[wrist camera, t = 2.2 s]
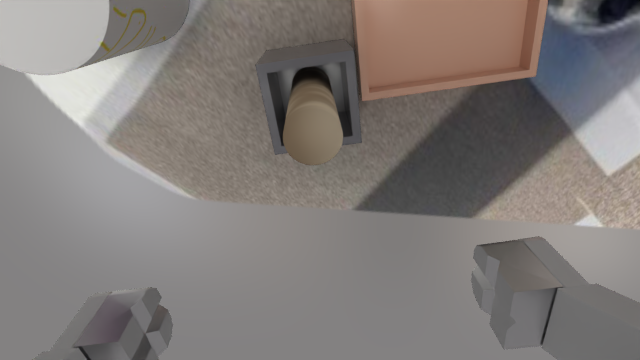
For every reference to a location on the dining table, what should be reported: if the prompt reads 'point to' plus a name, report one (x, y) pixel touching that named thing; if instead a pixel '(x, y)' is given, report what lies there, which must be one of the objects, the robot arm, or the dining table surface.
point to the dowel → (312, 119)
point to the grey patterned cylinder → (81, 31)
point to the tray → (444, 43)
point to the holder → (279, 74)
